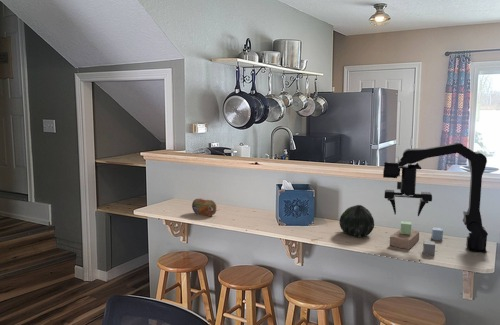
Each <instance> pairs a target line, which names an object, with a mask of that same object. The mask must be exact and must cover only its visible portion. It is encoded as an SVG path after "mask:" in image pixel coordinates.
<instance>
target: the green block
mask: <svg viewBox="0 0 500 325" xmlns="http://www.w3.org/2000/svg"><path fill="white" fill-rule="evenodd" d="M400 229H401V234H407V235H411V230H412V221H405V220H404V221H403V220H401V221H400Z"/></svg>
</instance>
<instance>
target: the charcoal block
mask: <svg viewBox="0 0 500 325" xmlns="http://www.w3.org/2000/svg"><path fill="white" fill-rule="evenodd" d="M422 244H423V246H422V254H423V255H424V256H425V255H426V256H435V255H436V254H435V253H436V243H435V241H429V240H423V242H422Z"/></svg>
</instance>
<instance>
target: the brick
mask: <svg viewBox="0 0 500 325" xmlns="http://www.w3.org/2000/svg"><path fill="white" fill-rule="evenodd" d="M419 240H420V231H419V230H416V229H411V235H407V234H401V228H400V229H398V230H397V232H394V233H393V234H391V235H390V236H389V245H390V246H391V247H395V248H400V249H405V250H410V249H411V248H413V247H414V246H415V245H416V243H417V242H419Z"/></svg>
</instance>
